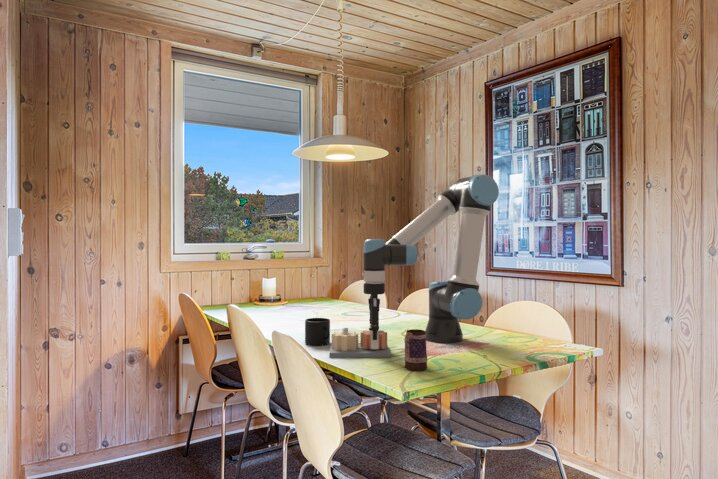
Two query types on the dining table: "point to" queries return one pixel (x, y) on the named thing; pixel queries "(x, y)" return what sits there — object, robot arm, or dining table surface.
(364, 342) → the gear
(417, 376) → the dining table surface
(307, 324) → the mug
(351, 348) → the gear board
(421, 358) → the mug
